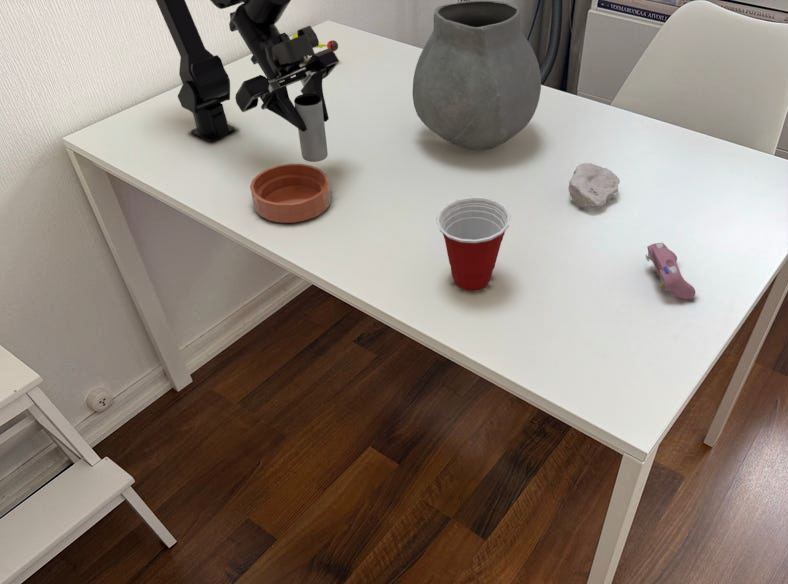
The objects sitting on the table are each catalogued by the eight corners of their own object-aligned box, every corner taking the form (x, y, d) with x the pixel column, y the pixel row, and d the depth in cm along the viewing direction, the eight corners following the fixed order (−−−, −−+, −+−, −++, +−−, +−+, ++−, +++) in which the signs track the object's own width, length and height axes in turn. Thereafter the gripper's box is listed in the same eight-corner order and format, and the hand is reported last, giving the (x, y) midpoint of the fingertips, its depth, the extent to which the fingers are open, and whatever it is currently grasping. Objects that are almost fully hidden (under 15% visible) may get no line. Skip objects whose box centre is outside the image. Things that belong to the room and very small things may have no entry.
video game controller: (649, 270, 110) (638, 240, 105) (676, 259, 108) (667, 227, 104) (668, 310, 103) (658, 280, 98) (698, 299, 102) (689, 267, 97)
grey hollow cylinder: (326, 162, 117) (319, 105, 109) (300, 162, 117) (291, 105, 109) (329, 149, 120) (323, 93, 112) (304, 149, 120) (296, 92, 112)
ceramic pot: (496, 103, 148) (506, -22, 130) (556, 153, 133) (576, 20, 115) (395, 125, 141) (390, -3, 123) (446, 181, 126) (449, 43, 108)
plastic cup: (425, 268, 107) (424, 204, 99) (485, 252, 110) (489, 189, 102) (453, 310, 101) (455, 245, 92) (516, 291, 104) (524, 227, 95)
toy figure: (264, 64, 163) (259, 35, 158) (272, 55, 167) (267, 26, 162) (336, 69, 161) (333, 39, 156) (342, 59, 165) (339, 31, 160)
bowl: (238, 207, 120) (234, 187, 117) (292, 175, 127) (289, 155, 124) (293, 234, 114) (289, 214, 111) (346, 198, 122) (344, 179, 119)
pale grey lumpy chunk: (627, 175, 122) (616, 180, 113) (613, 209, 125) (601, 216, 116) (582, 159, 124) (568, 162, 116) (570, 193, 127) (555, 199, 119)
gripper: (231, 29, 99) (290, 124, 102) (326, -3, 108) (377, 85, 111) (211, 67, 108) (266, 153, 111) (300, 34, 118) (348, 114, 121)
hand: (316, 125), depth 113 cm, fingers closed on grey hollow cylinder, 4 cm apart
